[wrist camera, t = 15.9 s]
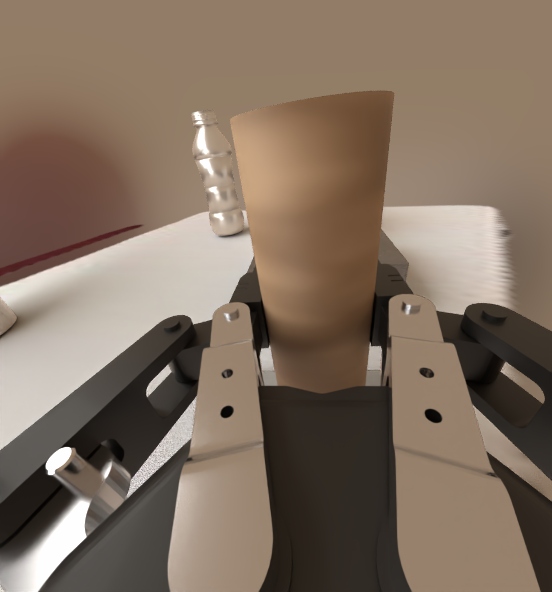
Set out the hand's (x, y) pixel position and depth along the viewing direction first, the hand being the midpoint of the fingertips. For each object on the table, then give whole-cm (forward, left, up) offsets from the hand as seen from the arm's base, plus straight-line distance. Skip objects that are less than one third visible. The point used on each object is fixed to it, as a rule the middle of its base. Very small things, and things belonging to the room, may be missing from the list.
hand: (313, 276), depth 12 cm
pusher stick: (0, -3, -8) cm, 8 cm away
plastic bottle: (-16, +37, -10) cm, 42 cm away
